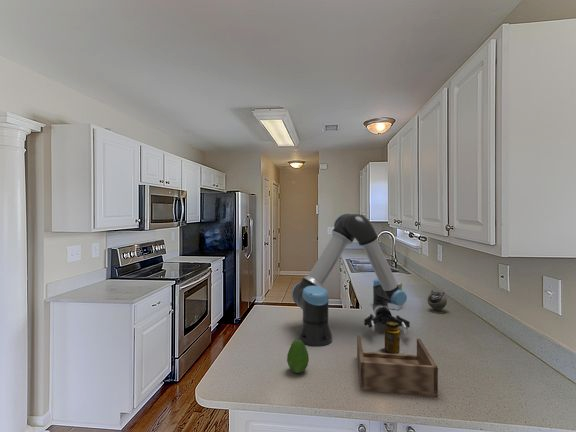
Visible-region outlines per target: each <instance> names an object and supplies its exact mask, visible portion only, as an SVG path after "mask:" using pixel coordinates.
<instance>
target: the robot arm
mask: <svg viewBox="0 0 576 432" xmlns="http://www.w3.org/2000/svg"><path fill="white" fill-rule="evenodd" d="M333 223H334V224H333V229H332V230H331V235H332V236H331V238H330V240H329V242H328V243H327V245H326V247H325V248H324V250H323V251H322V253H321V254H320V256H319V258H318V259H317V261H316V262H315V264H314V266H313V267H312V269H311V271H310V272H309V273H308V275H305V276H303V278H302V279H301V280H300V281H299V282H298V283H296V284H295V285H294V286H293V288H292V290H291V297H292V301H293V302H294V303H295V305H296V306H298V307H299V308H300V309H301V310H302V325H301V328H300V331H299V333H298V339H299V340H301V341H302V342H303V343H304V345H305V346H313V347H322V346H326V345H329V344H331V343H332V342H333V335H332V334H333V333H332V331H331V327H330V323H329V297H330V296H329V293H328V290H327V289H326V288H324V286H323V285H324V283H325V282H326V280H327V279H328V277H329V275H330V274H331V272H332V270H334V268H335V266H336V265H337V262H338V261H339V260H340V257H341V256H342V254H343V253H344V251H345V249H346V247H347V246H348V245H352V243H353V242H354V241H355V240H356V241H357V243H358V244H359V246H360V247H362V248H363V250H364V253H365V254H366V257H367V259H368V261H369V263H370V265H371V267H372V270H373V272H374V273H375V275H376V278H375V279H374V280H373V286H372V292H373V293H372V294H373V295H372V296H373V297H372V298H373V299H372V302H373V303H372V305H371V306H372V310H373V312H374V315H375V316H374V315H373V314H371V313H370V314H369V316H368V317H365V318H364V322H363V323H364V326H368V328H369V329H370V328H371V331H372V332H373V333H374V332H375V325H376V324H383V325H386V322H389V321H392V322H396V323H398V324H399V327H401V330H402V331H403V333H404V334H407V330H408V328H411V325H410V323H411V322H410V321H409V320H407V319H405V318H403V317H401V316H400V315H396V316H393V315H392V312H391V311H390V309H388V301H389V302H391V303H392V304H395V305H398V306H401V305H402V306H403V305H404V304H405V303H406V302H407V299H408V296H407V293H406V292H405V291H404V290H403V289H402V290H400V288H399V286H398V284H397V283H398V282H397V280H396V278H395V275H394V273H393V272H392V269H391V267H390V265H389V263H388V261H387V258H386V257H385V254H384V253H383V250H382V248H381V246H380V243H379V241H378V238H379V236H378V234H377V232H376V229H375V227H374V225H373V224H372V222H371V221H370V220H369V219H368V218H367V217H366V216H365V215H363V214H361V213H360V214H359V213H344V214H343V213H342V214H340V215H339V216H337V218H336V219H335V220H334V222H333Z"/></svg>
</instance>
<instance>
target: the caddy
mask: <svg viewBox="0 0 576 432" xmlns="http://www.w3.org/2000/svg"><path fill="white" fill-rule="evenodd" d="M356 342H357V344H356V349H357V350H356V356H357V357H356V359H357V368H358V369H357V370H358V376H359V377H358V378H359V385H360V386H359V387H360V391H369V392H383V393H393V394H394V393H395V394H404V395H405V394H406V395H417V396H430V397H438V393H439V392H438V390H439V385H438V383H439V372H438V371H439V367H438V366H437V364H436V363H435V361H434V359H433V358H432V356H431V354H430V353H429V351H428V350H427V347H426V346H425V344H424V343H423V341H422V339H421V338H416V354H403V353H401V354H390V353H381V352H374V351H372V352H370V351H363V345H362V343H363V342H362V337H361V335H360V334H357V335H356Z"/></svg>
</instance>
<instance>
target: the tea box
mask: <svg viewBox="0 0 576 432" xmlns="http://www.w3.org/2000/svg"><path fill="white" fill-rule="evenodd" d="M397 284H398V286H399V288H400V290H402V291H403V283H402V282H397ZM402 307H403V305H401V306H398V305H395V304H392V303H391V302H389V301H388V309H389V310H396V311H398V310H399V311H400V309H401V308H402Z"/></svg>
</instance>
